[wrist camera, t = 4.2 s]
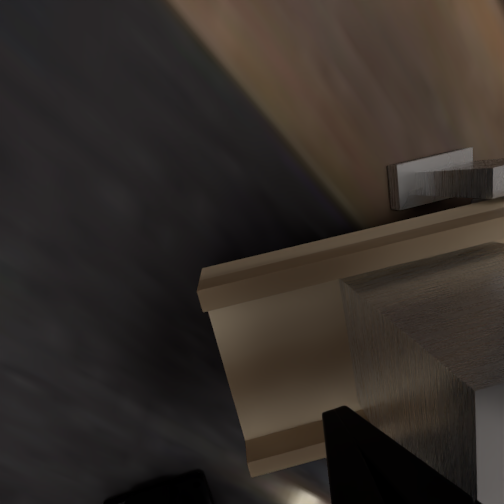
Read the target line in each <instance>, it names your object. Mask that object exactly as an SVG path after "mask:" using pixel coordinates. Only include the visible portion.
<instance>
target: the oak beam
mask: <svg viewBox="0 0 504 504" xmlns="http://www.w3.org/2000/svg"><path fill="white" fill-rule="evenodd" d="M492 241H494V242H498V243H503V244H504V196H502V197H498V198H494V199H485V198H475V199H472V200H471V204H469V205H465V206H461V207H457V208H452V209H448V210H444V211H440V212H436V213H432V214H427V215H423V216H419V217H415V218H411V219H406V220H402V221H398V222H394V223H390V224H385V225H381V226H377V227H373V228H369V229H365V230H360V231H356V232H352V233H348V234H344V235H339V236H335V237H331V238H327V239H323V240H319V241H314V242H310V243H306V244H302V245H298V246H293V247H289V248H285V249H281V250H277V251H272V252H268V253H264V254H260V255H256V256H252V257H247V258H243V259H239V260H235V261H231V262H226V263H222V264H218V265H214V266H210V267H206V268H202V271H201V276H200V280H199V284H198V288H197V294H198V297H199V300H200V304H201V307H202V311H203V312H207V311H208V313H209V316H210V320H211V323H212V327H213V330H214V334H215V337H216V341H217V344H218V348H219V351H220V355H221V358H222V362H223V365H224V369H225V372H226V376H227V379H228V383H229V386H230V390H231V393H232V397H233V400H234V404H235V407H236V411H237V414H238V418H239V421H240V425H241V428H242V431H243V435H244V438H245V445H246V457H247V465H248V468H249V472H250V475H251V478H252V477H256V476H260V475H263V474H267V473H270V472H274V471H278V470H281V469H285V468H289V467H292V466H296V465H300V464H303V463H307V462H311V461H314V460H318V459H322V458H325V457H326V449H325V440H324V431H323V422H322V413H323V412H325V411H328V410H331V409H335V408H337V407H340V406H344V405H345V406H348V407H349V408H351V409H352V410H353V411H355V412H356V413H357V414H359V415H360V416H362V417H363V418H364V419H366V420H367V421H369V419H368V418H367V416H366V414H365V413H364V411H363V410H362V408H361V406H360V405H359V403H358V398H357V391H356V385H355V379H354V372H353V366H352V360H351V353H350V347H349V341H348V334H347V328H346V322H345V316H344V309H343V303H342V297H341V290H340V284H339V279H342V278H346V277H350V276H354V275H358V274H362V273H366V272H370V271H374V270H378V269H382V268H386V267H390V266H394V265H398V264H403V263H407V262H411V261H415V260H419V259H423V258H427V257H431V256H435V255H439V254H443V253H447V252H451V251H455V250H460V249H464V248H468V247H472V246H476V245H480V244H484V243H488V242H492ZM369 422H370V421H369Z"/></svg>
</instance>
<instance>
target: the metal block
mask: <svg viewBox="0 0 504 504" xmlns="http://www.w3.org/2000/svg"><path fill="white" fill-rule="evenodd" d="M339 284H340V290H341V297H342V303H343V309H344V316H345V322H346V328H347V334H348V341H349V347H350V353H351V360H352V366H353V372H354V379H355V385H356V391H357V398H358V403H359V405H360V406H361V408H362V410H363V411H364V413H365V414H366V416H367V418H368V419H369V421H370V423H371V424H373V425H374V426H375V427H377V428H378V429H380V430H381V431H382V432H384V433H385V434H387V435H388V436H389V437H391V438H392V439H393V440H395V441H396V442H398V443H399V444H400V445H402V446H403V447H404V448H406V449H407V450H409V451H410V452H411V453H413V454H414V455H416V456H417V457H418V458H420V459H421V460H422V461H424V462H425V463H427V464H428V465H429V466H431V467H432V468H434V469H435V470H436V471H438V472H439V473H440V474H442V475H443V476H445V477H446V478H447V479H449V480H450V481H452V482H453V483H454V484H456V485H457V486H458V487H460V488H461V489H463V490H464V491H465V492H467V493H468V494H470V495H471V496H472V497H473V498H474V501H475V500H478V501H479V502H481V503H482V504H504V244H503V243H498V242H494V241H492V242H488V243H484V244H480V245H476V246H472V247H468V248H464V249H460V250H455V251H451V252H447V253H443V254H439V255H435V256H431V257H427V258H423V259H419V260H415V261H411V262H407V263H403V264H398V265H394V266H390V267H386V268H382V269H378V270H374V271H370V272H366V273H362V274H358V275H354V276H350V277H346V278H342V279H339Z"/></svg>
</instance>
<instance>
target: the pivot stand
mask: <svg viewBox="0 0 504 504" xmlns="http://www.w3.org/2000/svg"><path fill="white" fill-rule="evenodd" d="M387 168H388V179H389V191H390V203H391V209H394V210H404V209H408V208H412V207H416V206H420V205H424V204H428V203H432V202H436V201H440V200H444V199H448V198H452V197H464V198H485V199H494V198H498V197H502V196H504V159H493V160H482V161H473V147H471V148H464V149H458V150H454V151H449V152H445V153H441V154H437V155H432V156H428V157H424V158H419V159H415V160H411V161H407V162H402V163H398V164H394V165H390V166H387Z"/></svg>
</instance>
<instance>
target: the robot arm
mask: <svg viewBox="0 0 504 504" xmlns="http://www.w3.org/2000/svg"><path fill="white" fill-rule="evenodd" d="M322 422H323V431H324V440H325V449H326V458H327V467H328V476H329V484H330V493H331V502H332V504H482V503H481V502H479V501H478V500H475V501H474V498H473V497H472V496H471V495H470V494H468V493H467V492H465V491H464V490H463V489H461V488H460V487H458V486H457V485H456V484H454V483H453V482H452V481H450V480H449V479H447V478H446V477H445V476H443V475H442V474H440V473H439V472H438V471H436V470H435V469H434V468H432V467H431V466H429V465H428V464H427V463H425V462H424V461H422V460H421V459H420V458H418V457H417V456H416V455H414V454H413V453H411V452H410V451H409V450H407V449H406V448H404V447H403V446H402V445H400V444H399V443H398V442H396V441H395V440H393V439H392V438H391V437H389V436H388V435H387V434H385V433H384V432H382V431H381V430H380V429H378V428H377V427H375V426H374V425H373V424H371V423H370V422H369V421H367V420H366V419H364V418H363V417H362V416H360V415H359V414H357V413H356V412H355V411H353V410H352V409H351V408H349V407H348V406H345V405H344V406H340V407H337V408H335V409H331V410H328V411H325V412H323V413H322ZM103 504H214V503H213V500H212V497H211V494H210V491H209V489H208V486H207V483H206V480H205V477H204V475H203V474H202V473H198V472H197V473H193V474H190V475H186V476H183V477H180V478H177V479H174V480H171V481H168V482H165V483H161V484H158V485H155V486H152V487H149V488H146V489H143V490H140V491H137V492H133V493H130V494H127V495H124V496H121V497H118V498H115V499H112V500H109V501H106V502H104V503H103Z"/></svg>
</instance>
